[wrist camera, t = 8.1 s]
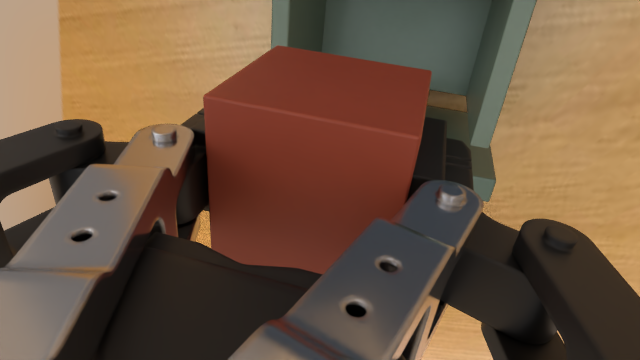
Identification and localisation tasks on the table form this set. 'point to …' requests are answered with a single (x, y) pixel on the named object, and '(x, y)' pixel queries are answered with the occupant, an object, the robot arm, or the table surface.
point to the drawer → (424, 52)
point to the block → (309, 154)
